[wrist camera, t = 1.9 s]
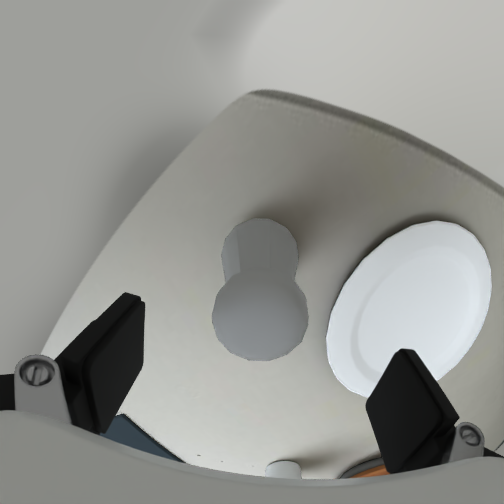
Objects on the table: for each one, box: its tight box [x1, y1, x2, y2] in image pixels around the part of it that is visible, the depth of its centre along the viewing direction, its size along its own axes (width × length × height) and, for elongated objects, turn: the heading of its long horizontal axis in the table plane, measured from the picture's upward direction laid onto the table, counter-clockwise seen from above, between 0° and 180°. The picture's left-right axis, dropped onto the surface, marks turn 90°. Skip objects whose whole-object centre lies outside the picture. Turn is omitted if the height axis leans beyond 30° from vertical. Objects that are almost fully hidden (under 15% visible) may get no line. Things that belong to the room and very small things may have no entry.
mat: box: [99, 414, 184, 463], centre depth 33 cm, size 14×14×1 cm
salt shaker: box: [212, 219, 309, 361], centre depth 18 cm, size 6×6×13 cm
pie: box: [340, 458, 390, 479], centre depth 32 cm, size 15×16×5 cm
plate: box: [326, 220, 492, 397], centre depth 25 cm, size 21×21×2 cm
